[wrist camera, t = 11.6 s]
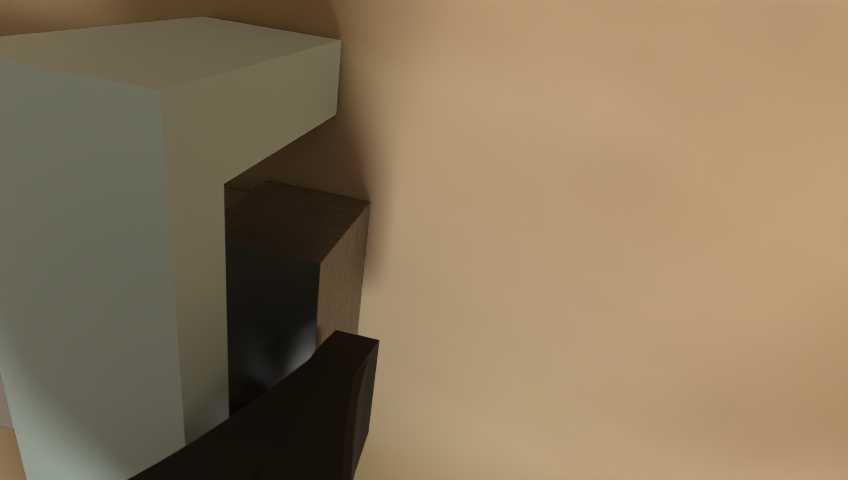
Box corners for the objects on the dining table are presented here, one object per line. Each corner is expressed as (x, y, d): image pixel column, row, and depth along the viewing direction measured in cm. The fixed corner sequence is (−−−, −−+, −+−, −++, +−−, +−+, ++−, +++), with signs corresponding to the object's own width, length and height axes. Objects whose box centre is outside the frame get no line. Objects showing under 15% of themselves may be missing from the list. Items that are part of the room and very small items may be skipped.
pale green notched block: (310, 491, 14) (205, 719, 9) (218, 466, 14) (75, 675, 10) (341, 40, 9) (160, 90, 5) (203, 16, 9) (-82, 44, 5)
